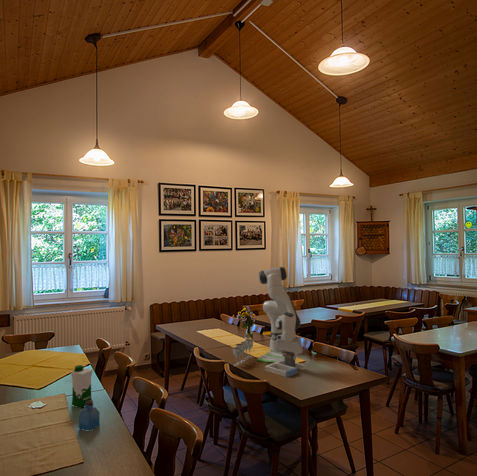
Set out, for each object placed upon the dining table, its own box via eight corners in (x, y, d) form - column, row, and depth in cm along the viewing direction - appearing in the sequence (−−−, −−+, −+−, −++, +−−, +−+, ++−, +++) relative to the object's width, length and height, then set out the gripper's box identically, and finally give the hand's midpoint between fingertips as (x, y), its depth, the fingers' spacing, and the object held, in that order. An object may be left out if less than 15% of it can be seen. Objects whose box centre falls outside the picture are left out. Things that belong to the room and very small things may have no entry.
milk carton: (81, 400, 204) (82, 363, 204) (94, 403, 200) (94, 365, 201) (69, 406, 196) (69, 368, 196) (82, 409, 192) (82, 370, 193)
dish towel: (290, 357, 282) (290, 352, 282) (276, 365, 262) (276, 360, 262) (270, 354, 291) (270, 349, 291) (255, 362, 271) (255, 357, 271)
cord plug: (289, 366, 258) (289, 352, 258) (295, 368, 254) (295, 353, 254) (284, 368, 254) (284, 353, 255) (290, 370, 251) (290, 355, 251)
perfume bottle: (78, 429, 171) (79, 403, 171) (88, 423, 177) (88, 398, 177) (89, 432, 169) (89, 405, 169) (99, 425, 174) (99, 399, 175)
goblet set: (238, 366, 260) (238, 347, 260) (231, 365, 262) (231, 346, 263) (254, 356, 285) (254, 338, 285) (247, 355, 287) (247, 337, 288)
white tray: (284, 363, 265) (284, 358, 265) (306, 369, 251) (306, 364, 251) (264, 370, 250) (264, 365, 251) (287, 377, 237) (287, 371, 237)
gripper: (304, 339, 249) (304, 360, 249) (280, 334, 264) (280, 354, 263) (298, 340, 245) (298, 362, 244) (274, 335, 260) (274, 355, 259)
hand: (289, 357), depth 254 cm, fingers open, 8 cm apart
